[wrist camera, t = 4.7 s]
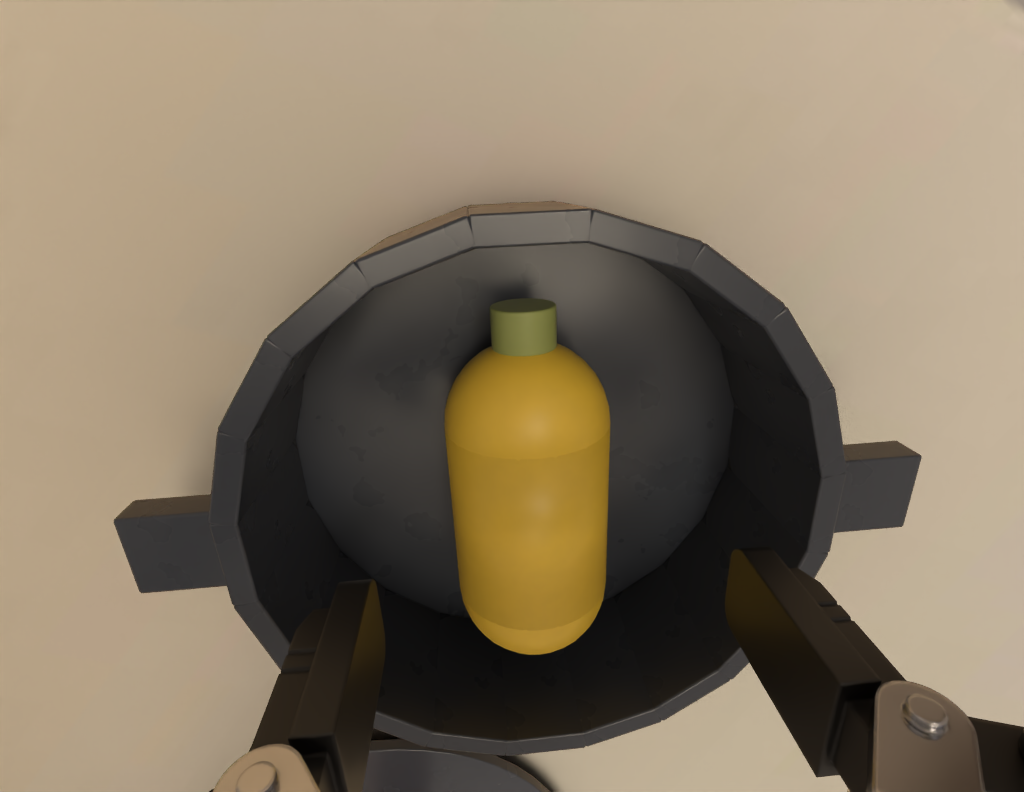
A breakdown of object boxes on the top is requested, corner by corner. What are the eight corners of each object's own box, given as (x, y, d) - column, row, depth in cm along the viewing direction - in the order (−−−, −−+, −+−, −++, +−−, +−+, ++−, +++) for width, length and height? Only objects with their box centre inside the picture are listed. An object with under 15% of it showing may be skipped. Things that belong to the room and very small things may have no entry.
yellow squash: (587, 577, 21) (620, 682, 17) (465, 588, 21) (465, 698, 16) (591, 284, 17) (637, 320, 12) (437, 293, 17) (427, 333, 12)
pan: (781, 598, 23) (871, 716, 18) (257, 648, 22) (193, 791, 17) (855, 186, 17) (1025, 187, 12) (135, 220, 16) (-25, 238, 10)
